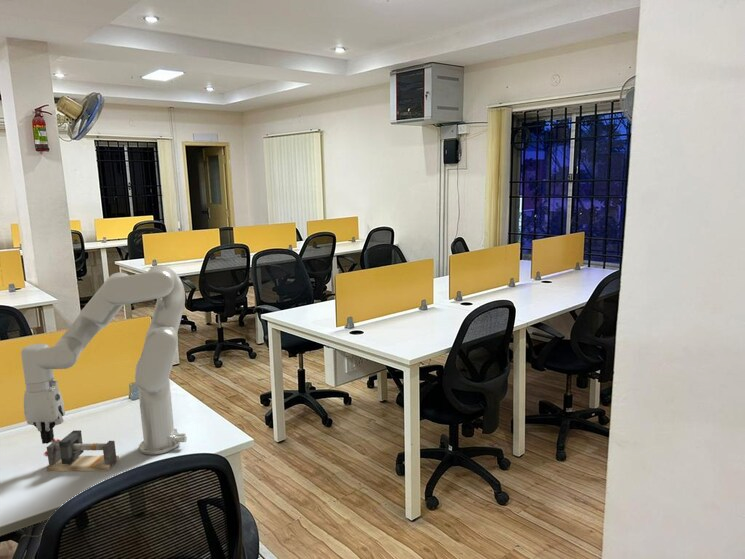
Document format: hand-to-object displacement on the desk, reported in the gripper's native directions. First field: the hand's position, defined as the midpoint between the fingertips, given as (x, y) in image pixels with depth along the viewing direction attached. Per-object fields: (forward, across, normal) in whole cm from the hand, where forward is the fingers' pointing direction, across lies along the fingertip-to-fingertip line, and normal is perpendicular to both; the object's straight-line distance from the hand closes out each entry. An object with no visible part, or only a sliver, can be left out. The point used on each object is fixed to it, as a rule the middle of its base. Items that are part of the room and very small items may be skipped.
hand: (48, 441), depth 167 cm
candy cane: (+9, +7, -12) cm, 16 cm away
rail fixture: (+8, -10, 0) cm, 13 cm away
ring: (+6, -7, 0) cm, 9 cm away
